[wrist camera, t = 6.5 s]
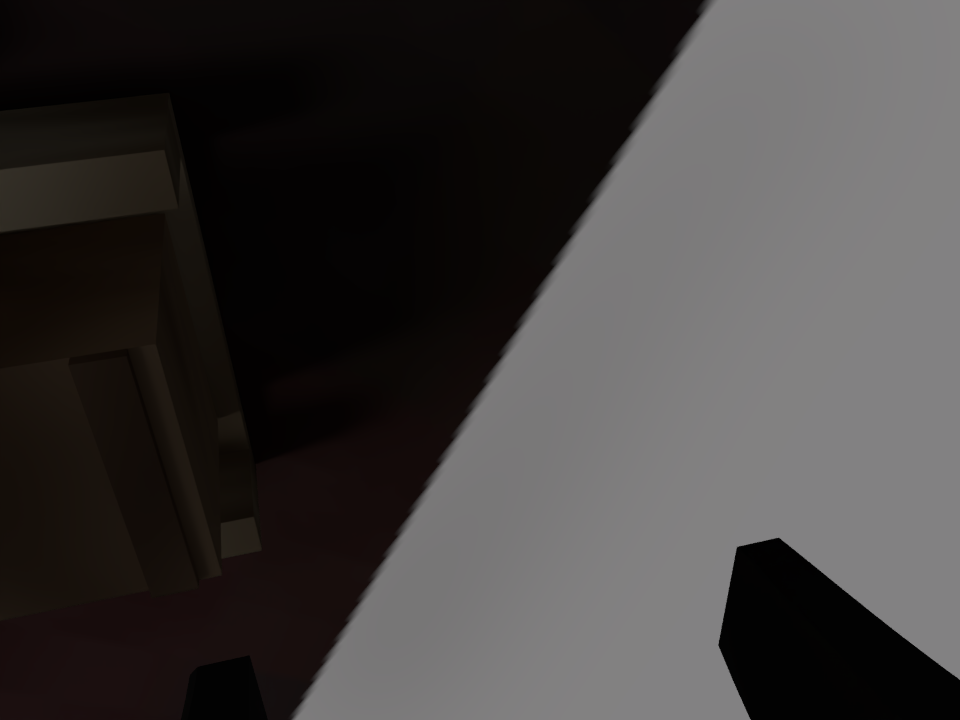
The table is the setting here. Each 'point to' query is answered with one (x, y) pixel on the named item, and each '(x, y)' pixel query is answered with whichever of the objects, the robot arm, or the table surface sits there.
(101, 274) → the crate
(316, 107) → the table surface
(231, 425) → the bay
